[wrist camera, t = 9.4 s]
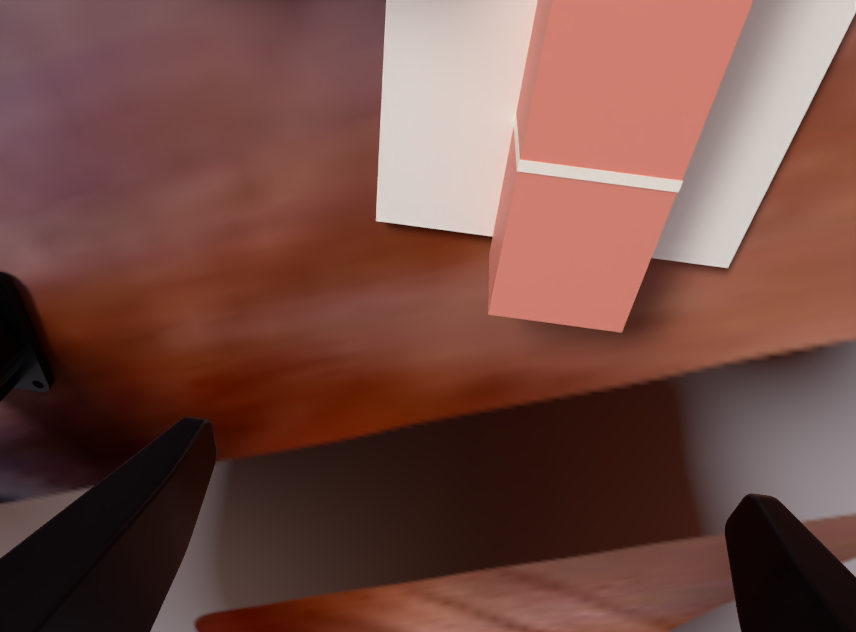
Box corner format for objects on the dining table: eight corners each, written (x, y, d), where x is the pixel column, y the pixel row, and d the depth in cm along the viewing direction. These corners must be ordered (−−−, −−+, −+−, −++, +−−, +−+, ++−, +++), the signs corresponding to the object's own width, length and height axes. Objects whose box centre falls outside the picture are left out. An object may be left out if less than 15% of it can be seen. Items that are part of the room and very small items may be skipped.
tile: (722, 258, 20) (727, 268, 19) (378, 213, 20) (375, 220, 19) (950, -209, 12) (968, -213, 12) (403, -275, 13) (399, -281, 12)
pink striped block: (604, 269, 20) (622, 333, 17) (488, 254, 20) (487, 315, 17) (808, -329, 11) (914, -399, 8) (604, -353, 11) (639, -430, 8)
